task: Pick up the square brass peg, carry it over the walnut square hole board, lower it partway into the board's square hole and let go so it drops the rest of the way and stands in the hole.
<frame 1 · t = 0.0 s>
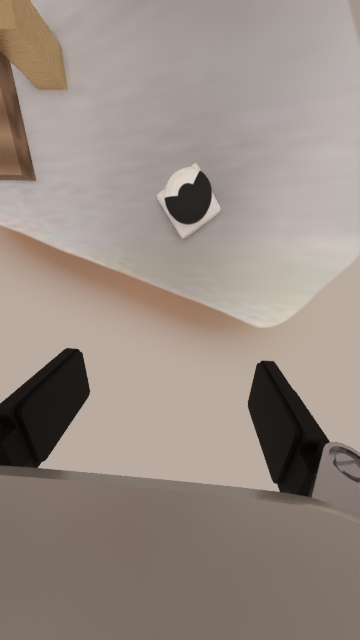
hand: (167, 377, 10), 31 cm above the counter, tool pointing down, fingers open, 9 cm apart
brass peg: (49, 68, 28), on the counter
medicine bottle: (189, 210, 34), on the counter
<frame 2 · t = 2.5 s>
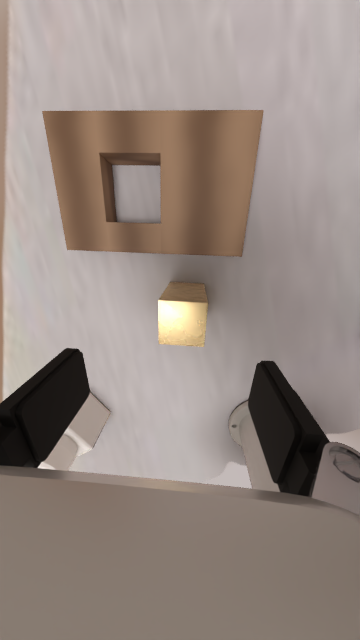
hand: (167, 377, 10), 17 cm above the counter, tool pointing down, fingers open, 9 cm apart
brass peg: (186, 298, 26), on the counter
walnut square hole board: (156, 197, 22), on the counter
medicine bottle: (86, 406, 36), on the counter
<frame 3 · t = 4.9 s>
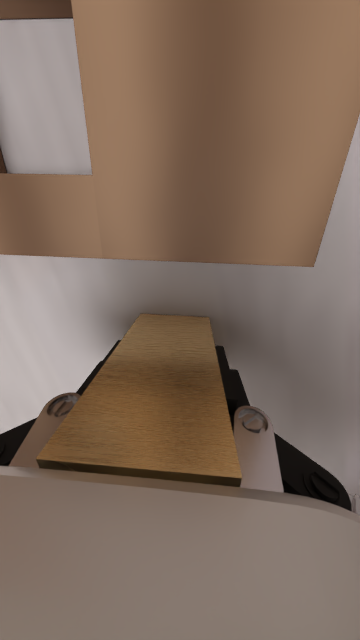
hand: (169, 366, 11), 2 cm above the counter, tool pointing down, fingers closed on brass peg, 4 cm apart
brass peg: (173, 345, 13), on the counter, touching gripper
walnut square hole board: (93, 117, 9), on the counter
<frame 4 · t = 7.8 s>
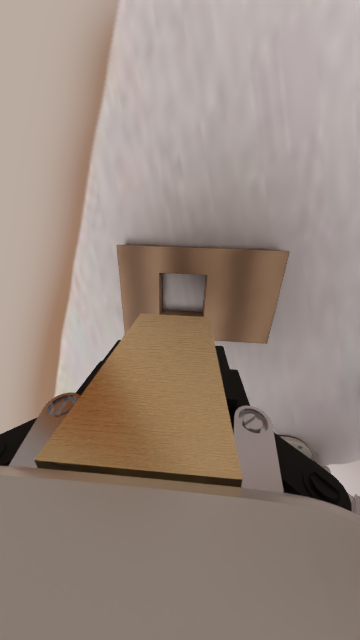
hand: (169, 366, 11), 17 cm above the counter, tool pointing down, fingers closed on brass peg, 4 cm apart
brass peg: (173, 345, 13), point 15 cm above the counter, touching gripper
walnut square hole board: (197, 292, 27), on the counter
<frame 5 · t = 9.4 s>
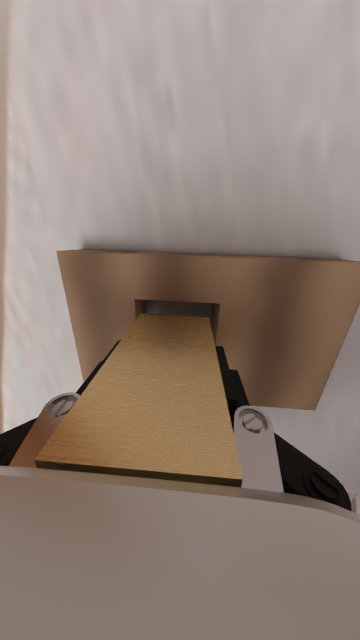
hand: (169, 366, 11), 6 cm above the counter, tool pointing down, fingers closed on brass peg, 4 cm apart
brass peg: (173, 345, 13), point 4 cm above the counter, touching gripper
walnut square hole board: (200, 324, 17), on the counter
when the fingers open (4 cm above the counter, at t = 10.8 s): brass peg drops 2 cm, resting in walnut square hole board.
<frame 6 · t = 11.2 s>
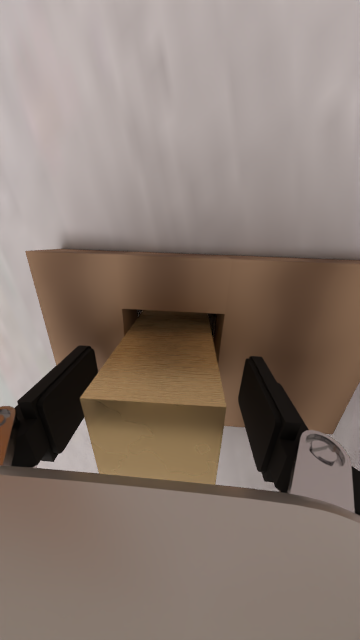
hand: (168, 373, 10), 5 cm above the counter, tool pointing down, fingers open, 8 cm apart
brass peg: (175, 333, 15), resting in walnut square hole board
walnut square hole board: (201, 335, 15), on the counter
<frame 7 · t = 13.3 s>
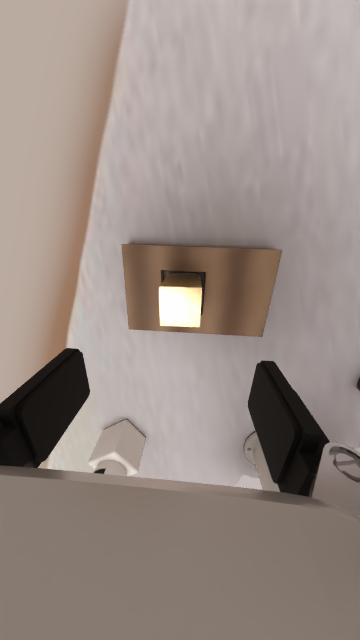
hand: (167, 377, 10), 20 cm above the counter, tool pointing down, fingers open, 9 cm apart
brass peg: (183, 288, 29), resting in walnut square hole board
walnut square hole board: (196, 288, 28), on the counter
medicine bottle: (125, 432, 43), on the counter
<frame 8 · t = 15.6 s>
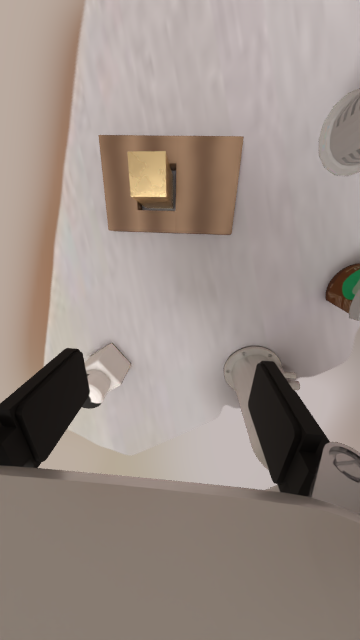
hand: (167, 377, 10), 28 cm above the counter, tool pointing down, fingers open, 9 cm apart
food container: (350, 275, 34), on the counter
brass peg: (159, 192, 31), resting in walnut square hole board
walnut square hole board: (171, 192, 31), on the counter
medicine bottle: (111, 359, 45), on the counter
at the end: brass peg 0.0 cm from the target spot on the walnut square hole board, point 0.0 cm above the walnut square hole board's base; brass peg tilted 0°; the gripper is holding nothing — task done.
